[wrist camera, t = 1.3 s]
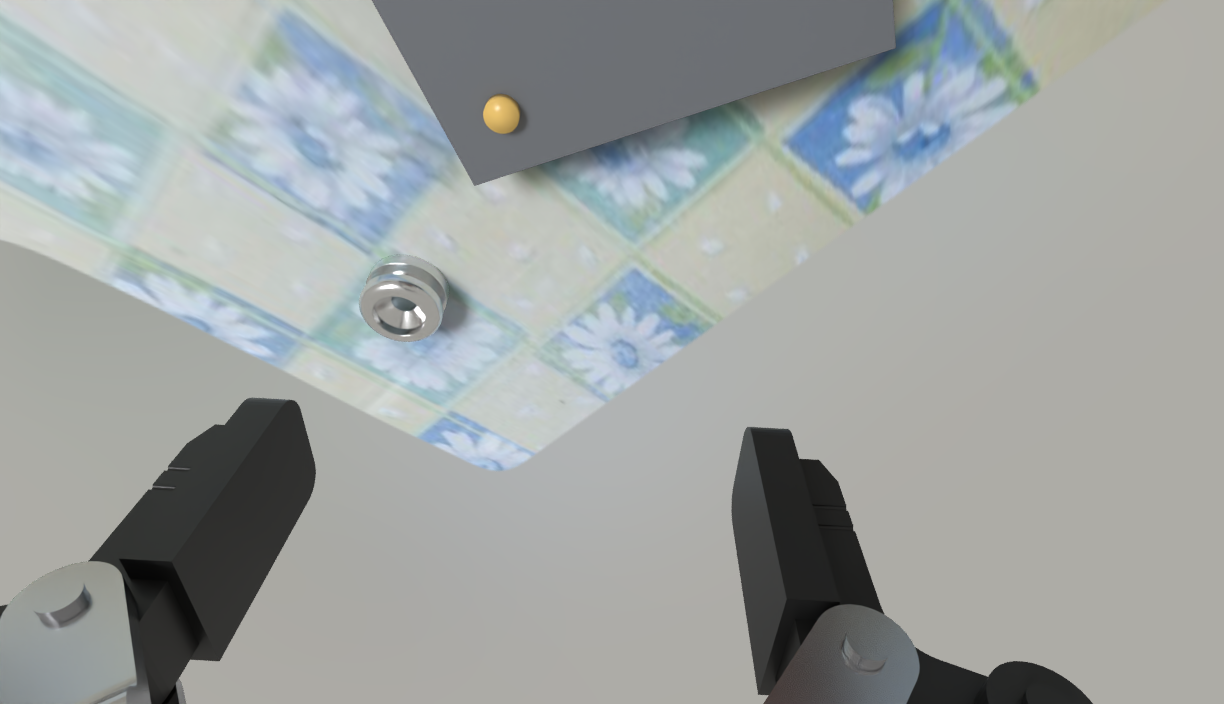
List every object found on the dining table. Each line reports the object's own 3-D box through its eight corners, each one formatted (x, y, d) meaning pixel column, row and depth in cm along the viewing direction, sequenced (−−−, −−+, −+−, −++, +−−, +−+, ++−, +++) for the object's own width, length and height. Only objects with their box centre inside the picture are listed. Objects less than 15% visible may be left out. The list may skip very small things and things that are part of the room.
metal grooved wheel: (434, 249, 41) (356, 259, 42) (423, 279, 39) (342, 289, 40) (459, 311, 45) (387, 319, 45) (451, 341, 42) (376, 350, 43)
